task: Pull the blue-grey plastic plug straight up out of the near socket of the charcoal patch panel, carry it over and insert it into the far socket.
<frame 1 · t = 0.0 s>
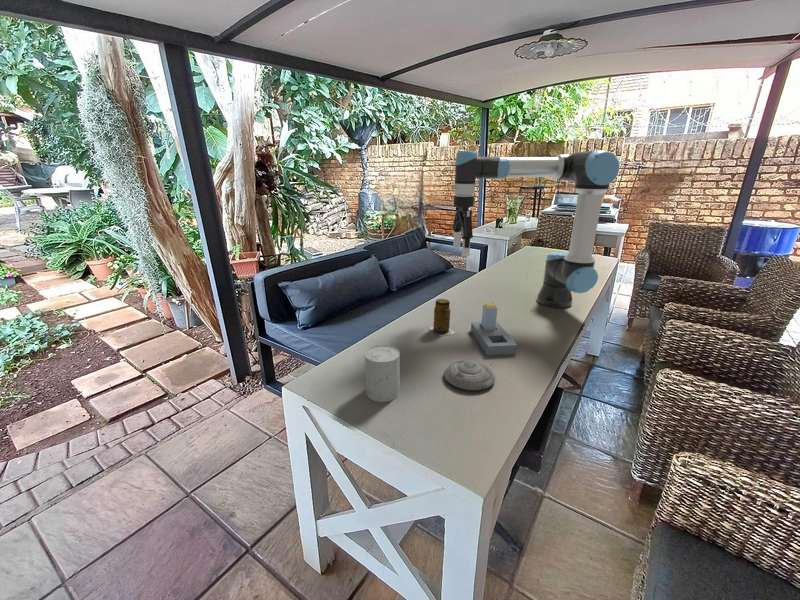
hand: (460, 252, 144), 28 cm above the table, fingers open, 13 cm apart
panel: (491, 341, 133), on the table
plug: (487, 334, 137), resting on panel
flying saucer: (468, 380, 110), on the table
pale grey cylinder: (383, 392, 104), on the table
condiment: (442, 331, 142), on the table
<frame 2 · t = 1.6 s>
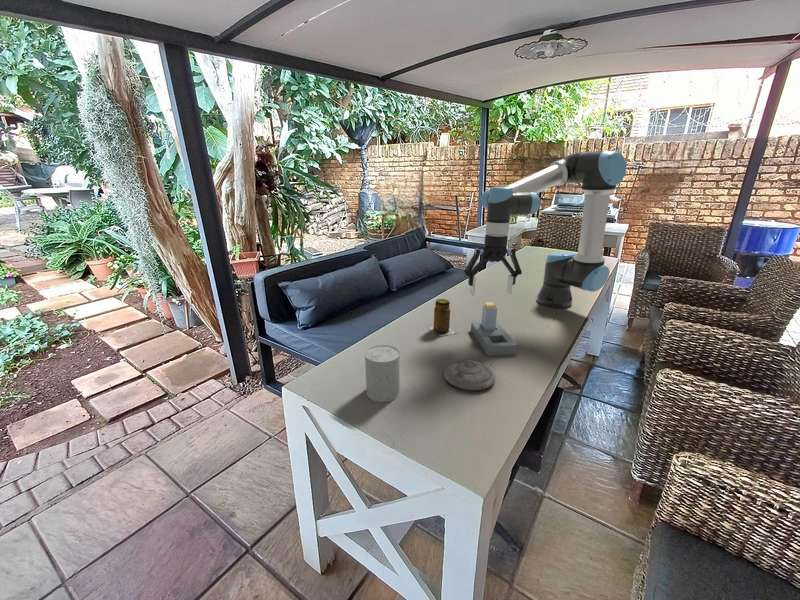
hand: (490, 293, 132), 17 cm above the table, fingers open, 13 cm apart
nothing on the table moved.
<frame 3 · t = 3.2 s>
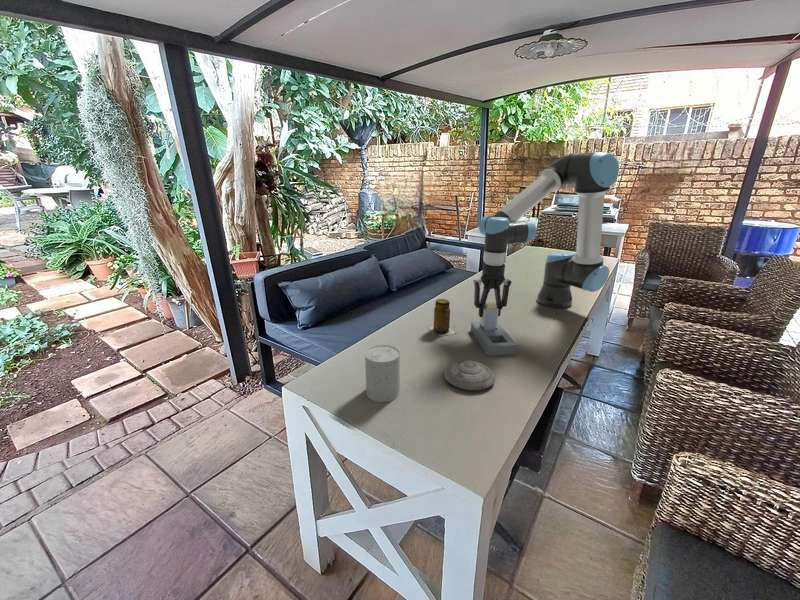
hand: (488, 324, 136), 5 cm above the table, fingers closed on plug, 4 cm apart
plug: (487, 334, 137), resting on panel, touching gripper
everything else where it was.
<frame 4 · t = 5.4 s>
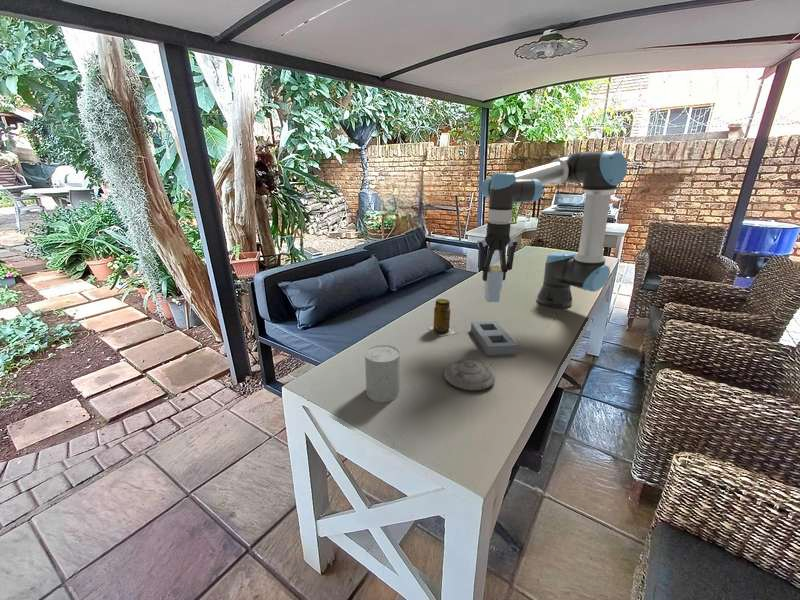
hand: (492, 289, 129), 19 cm above the table, fingers closed on plug, 4 cm apart
plug: (491, 300, 131), point 15 cm above the table, touching gripper
everything else where it was.
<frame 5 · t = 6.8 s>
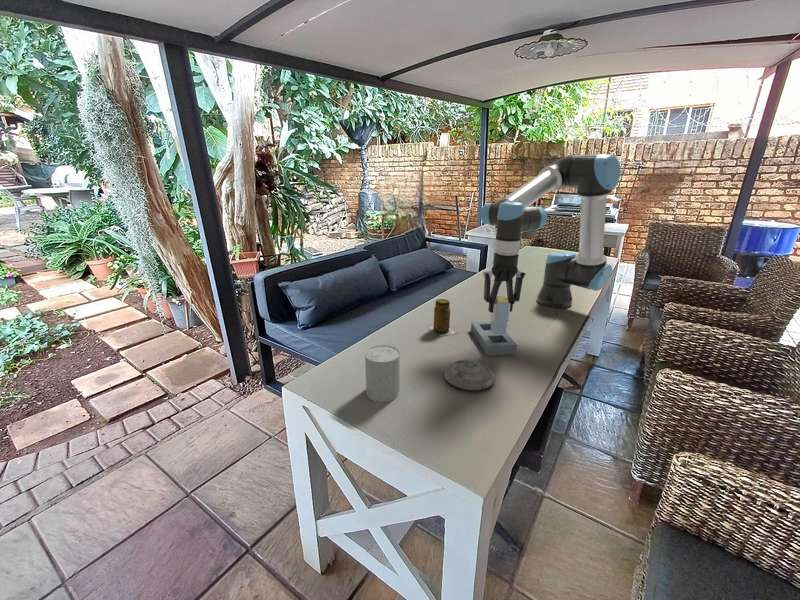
hand: (499, 320, 124), 11 cm above the table, fingers closed on plug, 4 cm apart
plug: (498, 331, 126), point 6 cm above the table, touching gripper
everything else where it was.
when the fingers open (6 cm above the table, at t = 7.8 s): plug drops 2 cm, resting on panel.
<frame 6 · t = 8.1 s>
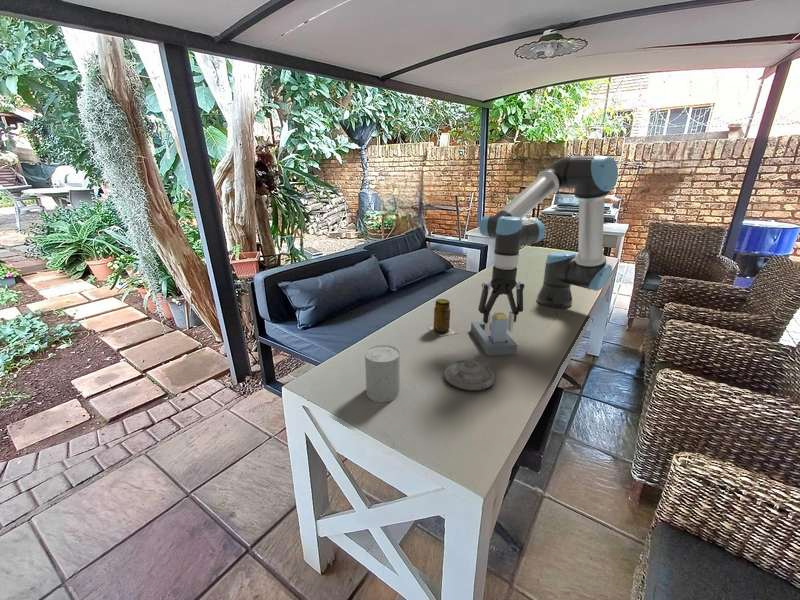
hand: (498, 330, 126), 7 cm above the table, fingers open, 7 cm apart
plug: (496, 346, 128), resting on panel
everything else where it was.
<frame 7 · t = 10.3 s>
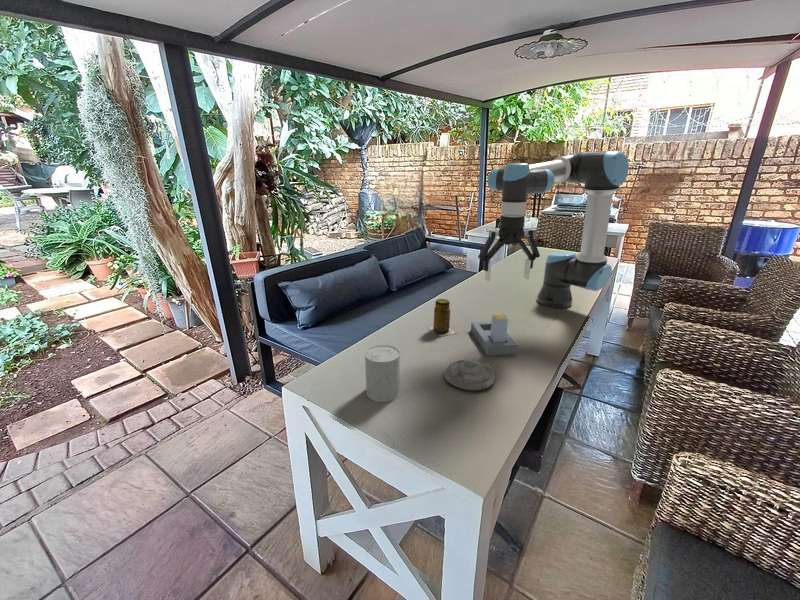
hand: (506, 278, 124), 24 cm above the table, fingers open, 13 cm apart
nothing on the table moved.
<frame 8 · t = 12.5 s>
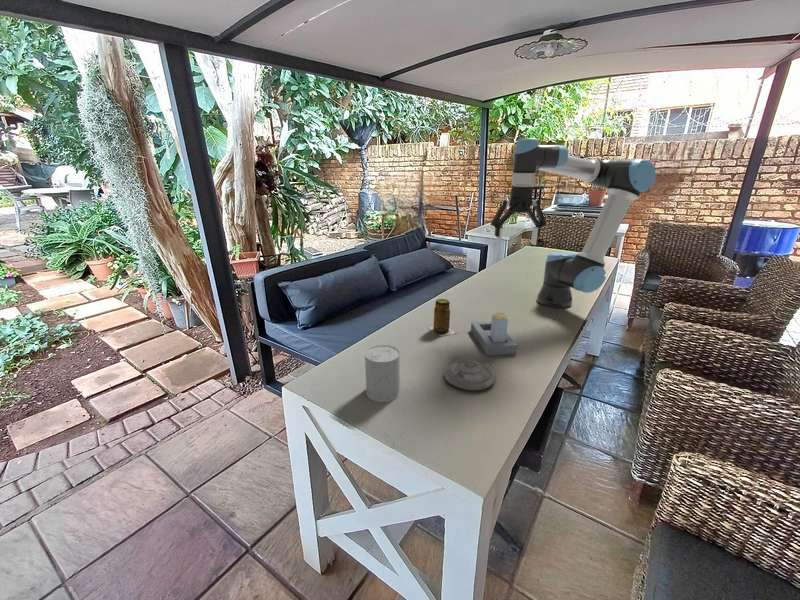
hand: (516, 245, 138), 32 cm above the table, fingers open, 13 cm apart
nothing on the table moved.
at the end: plug 0.0 cm from the target spot on the panel, point 0.5 cm above the panel's base; plug tilted 0°; the gripper is holding nothing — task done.
